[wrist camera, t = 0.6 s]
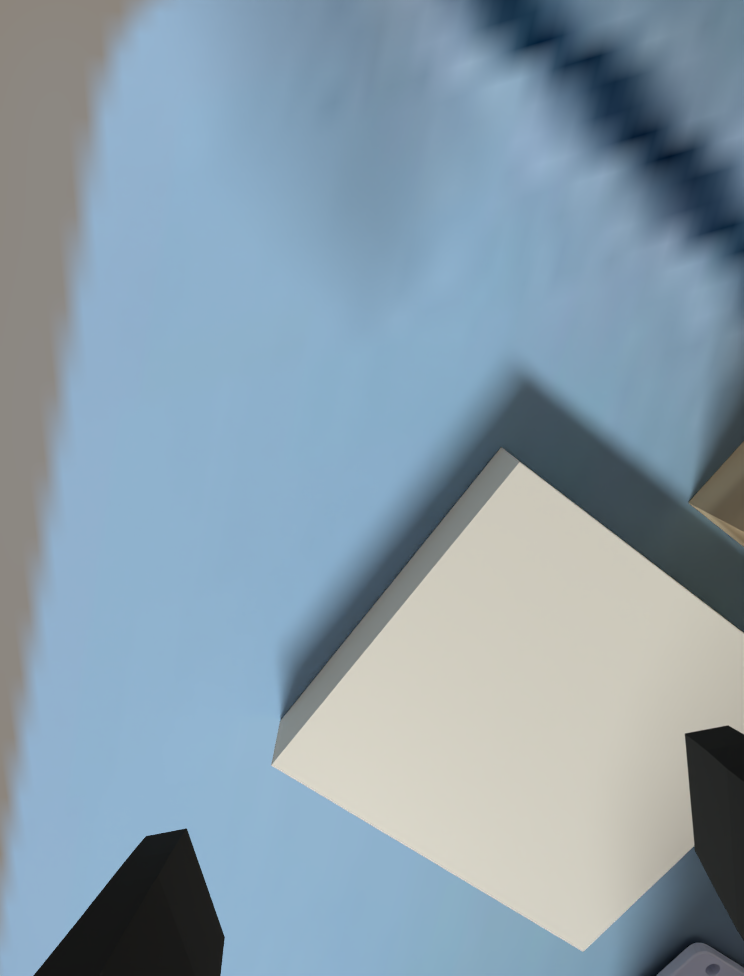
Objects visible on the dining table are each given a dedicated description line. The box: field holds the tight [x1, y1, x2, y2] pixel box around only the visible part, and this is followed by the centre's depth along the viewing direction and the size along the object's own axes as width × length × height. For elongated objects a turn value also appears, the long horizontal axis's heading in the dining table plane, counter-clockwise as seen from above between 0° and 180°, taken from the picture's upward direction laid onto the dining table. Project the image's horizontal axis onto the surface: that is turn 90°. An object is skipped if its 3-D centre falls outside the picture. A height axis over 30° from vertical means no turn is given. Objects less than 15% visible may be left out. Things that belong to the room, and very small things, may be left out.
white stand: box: [271, 447, 744, 951], centre depth 18 cm, size 12×11×2 cm
